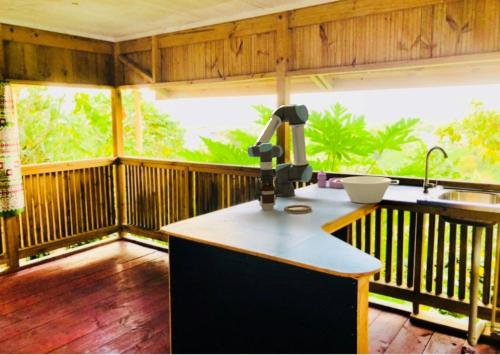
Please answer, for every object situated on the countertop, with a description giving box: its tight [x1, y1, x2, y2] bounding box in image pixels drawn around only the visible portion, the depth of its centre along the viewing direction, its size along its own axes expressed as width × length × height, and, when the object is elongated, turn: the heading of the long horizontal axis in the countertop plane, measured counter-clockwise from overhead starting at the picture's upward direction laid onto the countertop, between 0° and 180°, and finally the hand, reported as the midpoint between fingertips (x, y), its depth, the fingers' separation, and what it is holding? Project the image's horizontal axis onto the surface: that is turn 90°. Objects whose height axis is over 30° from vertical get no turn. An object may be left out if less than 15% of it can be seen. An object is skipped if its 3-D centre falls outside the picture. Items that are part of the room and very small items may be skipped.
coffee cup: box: [258, 184, 275, 211], centre depth 245 cm, size 10×10×15 cm
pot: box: [333, 175, 400, 205], centre depth 259 cm, size 40×32×14 cm
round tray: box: [283, 204, 313, 215], centre depth 239 cm, size 16×16×2 cm
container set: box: [316, 170, 345, 189], centre depth 321 cm, size 25×15×13 cm, turn 70°
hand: (267, 205), depth 246 cm, fingers closed on coffee cup, 8 cm apart
